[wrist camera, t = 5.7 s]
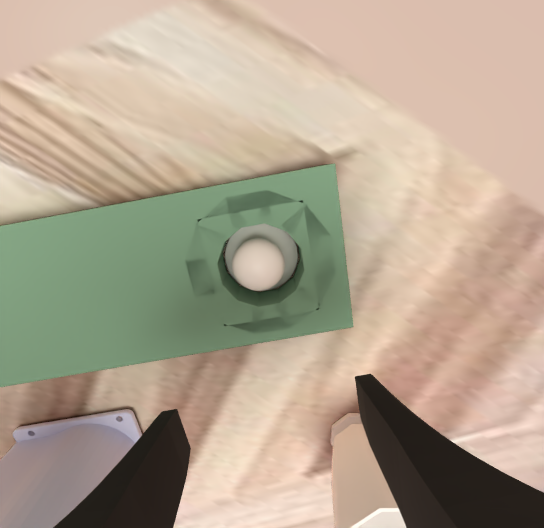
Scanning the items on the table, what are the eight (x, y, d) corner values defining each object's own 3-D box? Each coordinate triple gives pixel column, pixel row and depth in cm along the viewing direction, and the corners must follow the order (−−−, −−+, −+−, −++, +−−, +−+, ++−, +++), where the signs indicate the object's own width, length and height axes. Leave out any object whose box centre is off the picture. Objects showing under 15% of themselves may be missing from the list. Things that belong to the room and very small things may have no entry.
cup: (337, 386, 23) (372, 491, 16) (446, 425, 25) (527, 540, 17) (298, 451, 25) (313, 574, 18) (402, 485, 27) (457, 613, 19)
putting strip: (19, 366, 22) (-9, 388, 20) (-46, 234, 19) (-88, 242, 17) (344, 310, 22) (353, 327, 19) (326, 164, 19) (335, 163, 16)
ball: (271, 275, 21) (229, 291, 20) (262, 230, 20) (218, 243, 19) (299, 285, 18) (253, 304, 17) (290, 234, 18) (241, 249, 16)
